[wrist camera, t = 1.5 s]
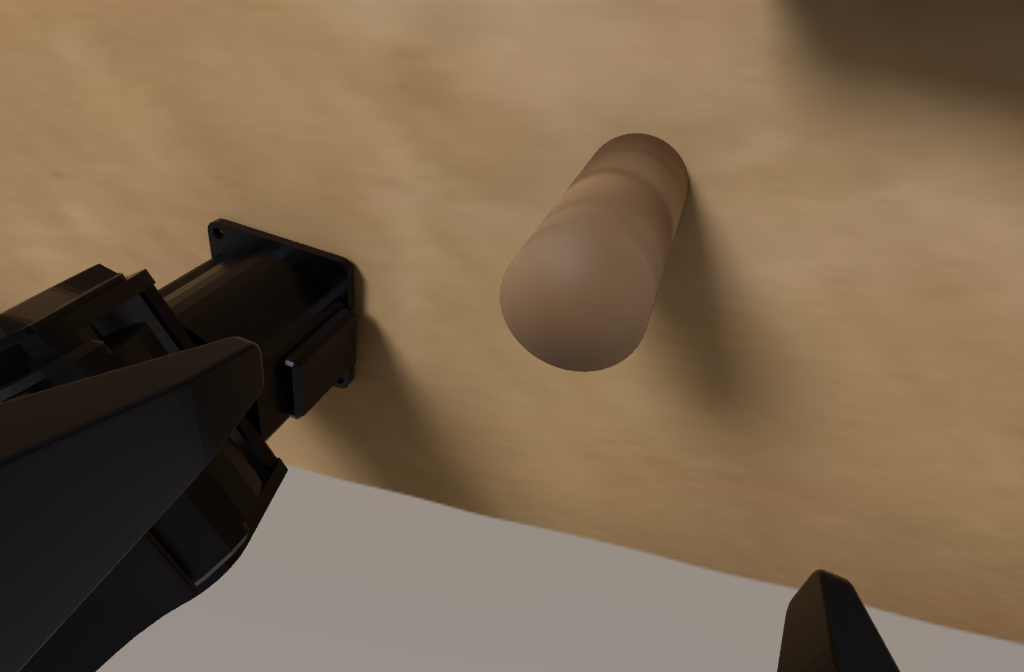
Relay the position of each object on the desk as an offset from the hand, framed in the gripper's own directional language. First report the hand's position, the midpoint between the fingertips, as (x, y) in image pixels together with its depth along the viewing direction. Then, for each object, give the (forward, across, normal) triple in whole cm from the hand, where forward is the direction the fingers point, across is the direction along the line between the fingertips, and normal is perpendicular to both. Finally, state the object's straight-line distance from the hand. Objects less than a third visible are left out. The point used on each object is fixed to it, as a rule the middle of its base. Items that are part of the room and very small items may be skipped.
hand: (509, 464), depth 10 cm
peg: (+13, +1, 0) cm, 13 cm away
